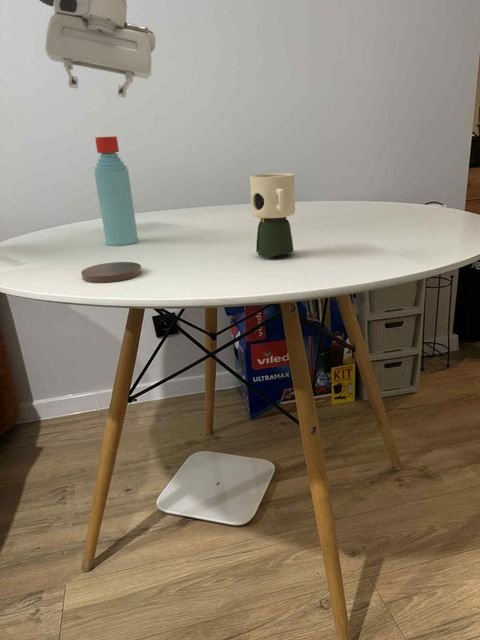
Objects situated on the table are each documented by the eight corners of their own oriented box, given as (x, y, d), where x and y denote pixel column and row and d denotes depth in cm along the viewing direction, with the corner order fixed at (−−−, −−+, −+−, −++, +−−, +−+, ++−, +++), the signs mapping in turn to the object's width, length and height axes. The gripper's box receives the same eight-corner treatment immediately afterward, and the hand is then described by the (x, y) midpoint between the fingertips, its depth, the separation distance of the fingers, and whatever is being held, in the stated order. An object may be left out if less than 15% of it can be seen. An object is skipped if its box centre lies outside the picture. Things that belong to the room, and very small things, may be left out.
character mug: (247, 251, 89) (242, 174, 84) (285, 247, 91) (283, 171, 86) (263, 265, 79) (259, 178, 74) (305, 260, 81) (304, 175, 76)
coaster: (72, 276, 78) (70, 270, 78) (123, 265, 84) (122, 259, 83) (99, 286, 72) (98, 279, 72) (153, 273, 78) (152, 266, 77)
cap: (94, 153, 96) (91, 137, 95) (112, 152, 98) (110, 136, 97) (104, 153, 93) (101, 137, 92) (122, 151, 96) (120, 136, 95)
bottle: (100, 243, 103) (82, 140, 95) (128, 238, 107) (113, 139, 99) (116, 247, 99) (99, 140, 91) (144, 241, 103) (130, 138, 95)
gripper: (156, 36, 104) (150, 106, 106) (52, 14, 100) (48, 87, 102) (156, 22, 98) (150, 96, 100) (44, -3, 94) (40, 75, 96)
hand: (97, 91), depth 101 cm, fingers open, 8 cm apart
